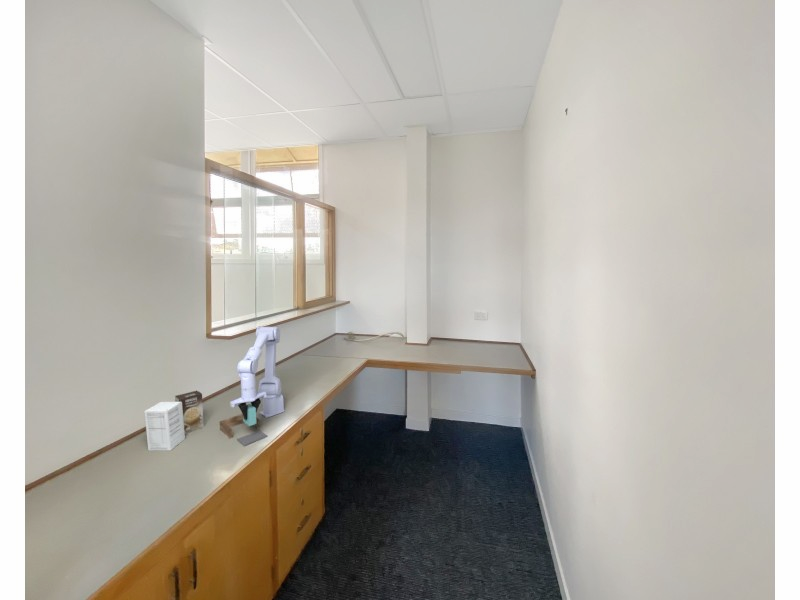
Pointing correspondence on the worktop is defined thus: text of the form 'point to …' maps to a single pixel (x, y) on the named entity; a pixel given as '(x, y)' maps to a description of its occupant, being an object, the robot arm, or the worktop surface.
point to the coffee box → (191, 410)
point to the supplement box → (164, 426)
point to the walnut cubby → (233, 424)
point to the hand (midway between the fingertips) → (249, 417)
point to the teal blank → (250, 415)
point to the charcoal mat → (252, 438)
